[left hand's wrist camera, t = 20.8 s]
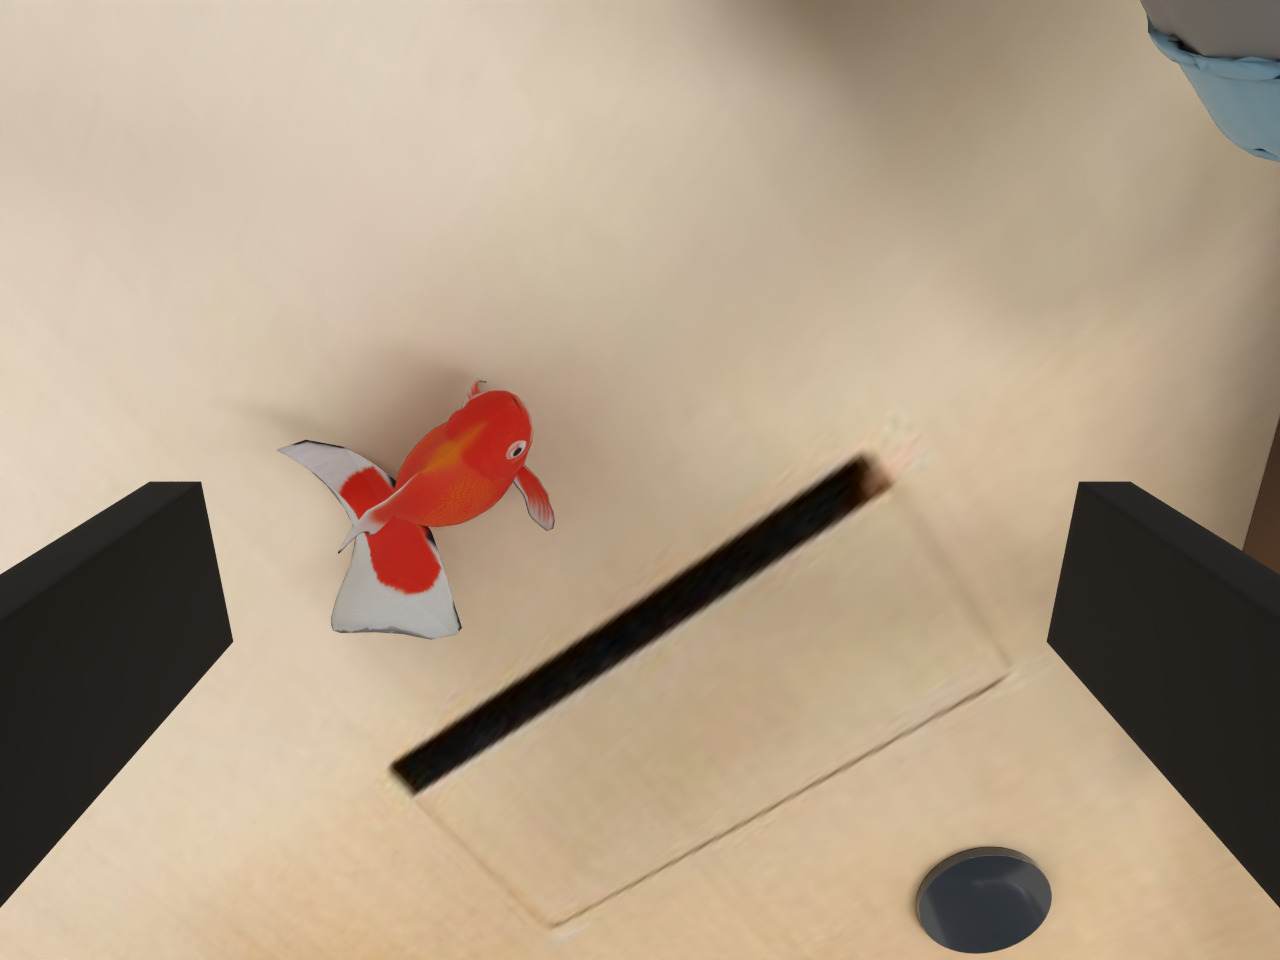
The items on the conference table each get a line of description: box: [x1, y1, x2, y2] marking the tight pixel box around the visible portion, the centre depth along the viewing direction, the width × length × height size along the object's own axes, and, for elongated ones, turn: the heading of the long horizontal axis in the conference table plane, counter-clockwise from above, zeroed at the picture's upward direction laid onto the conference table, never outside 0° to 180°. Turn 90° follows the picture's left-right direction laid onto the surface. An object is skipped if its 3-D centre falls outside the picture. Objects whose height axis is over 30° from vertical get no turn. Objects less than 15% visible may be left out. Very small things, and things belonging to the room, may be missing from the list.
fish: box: [277, 379, 554, 639], centre depth 37 cm, size 11×16×10 cm
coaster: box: [916, 847, 1052, 954], centre depth 50 cm, size 8×8×1 cm
